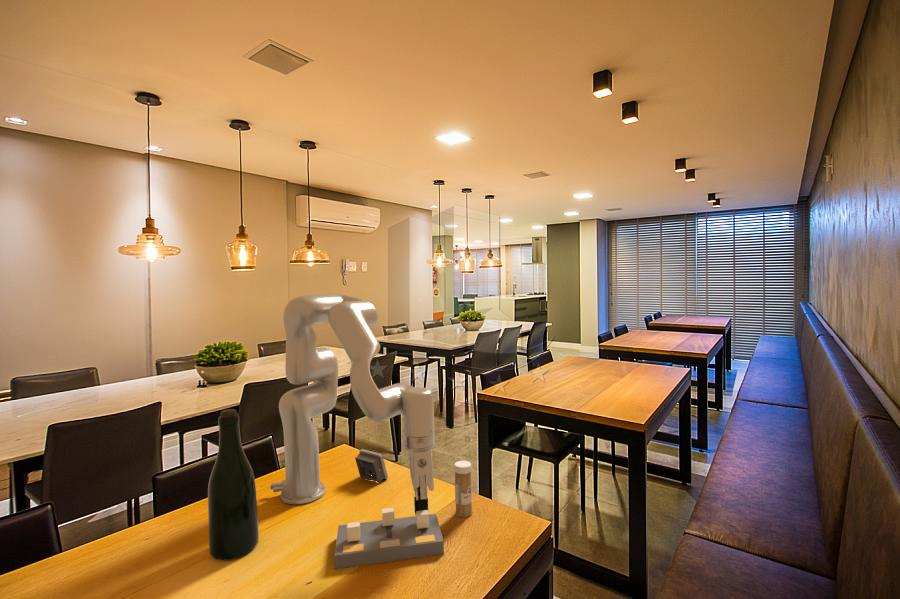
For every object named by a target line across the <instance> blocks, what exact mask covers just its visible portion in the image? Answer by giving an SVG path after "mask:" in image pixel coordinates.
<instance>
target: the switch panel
mask: <svg viewBox="0 0 900 599" xmlns="http://www.w3.org/2000/svg"><path fill="white" fill-rule="evenodd" d="M428 514H429V513H428ZM394 523H395V525H389V526H383V519H380V520H373V521H365V522H360V540H358V541H350V542H348V541H347V524H340V525H339V524H338V527H337V533H336V534H337V535H336V542H335V548H334V558H333V560H334V570H339V569H345V568H352V567H359V566H360V567H361V566H368V565H375V564H381V563H382V564H383V563H390V562H396V561H404V560H412V559H419V558H425V557H433V556H441V555H445V546H444V545H445V544H444V542H445V541H444V538H443V534H442V531H441V528H440V527H441V526H440V523H439V520H438V516H437V513H430V514H429V527H428V528H420V529H417V524H416V515H412V516H406V517H398V518H394Z"/></svg>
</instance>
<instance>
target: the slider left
mask: <svg viewBox="0 0 900 599" xmlns="http://www.w3.org/2000/svg"><path fill="white" fill-rule="evenodd" d="M360 523H361V522H360V521H356V522H348V523H347V541H348V542H350V541H358V540H360Z"/></svg>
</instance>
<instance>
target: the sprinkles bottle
mask: <svg viewBox="0 0 900 599" xmlns="http://www.w3.org/2000/svg"><path fill="white" fill-rule="evenodd" d="M453 472H454V493H455V494H454V497H455V514H456V516H458V517H461V518H468V517H470V516H472V515H473V506H472V505H473V504H472V503H473V500H472V499H473V496H472V495H473V494H472V476H471V475H472V463H471V462H470V461H468V460H458V461H456V462H455V463H454V465H453Z"/></svg>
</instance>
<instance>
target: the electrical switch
mask: <svg viewBox="0 0 900 599" xmlns="http://www.w3.org/2000/svg"><path fill="white" fill-rule="evenodd" d="M358 451H359V452H358V453H359V454H358V455H357V456H356V457H354V458H355V459H354V460H355V463H356V465H357V466H356V467H357V470H358V474H359V478H360V479H361V478H363V479H362V480H365V479H367V480H366V481H368V480H374V481H377V482H378V483H379V484H380V483H381V482H382V481H384V480H383V479H386V480H385V481H387V480H388V478H389V476H388V472H387V467H386V464H385V461H384V460H385V459H384V457H383V454H381V453H379V452H376V451H375V452H374V451H370V450H367V449H364V448H361V449H359V450H358ZM371 475H372V476H371ZM373 476H374V477H373ZM378 483H377V484H378Z"/></svg>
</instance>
